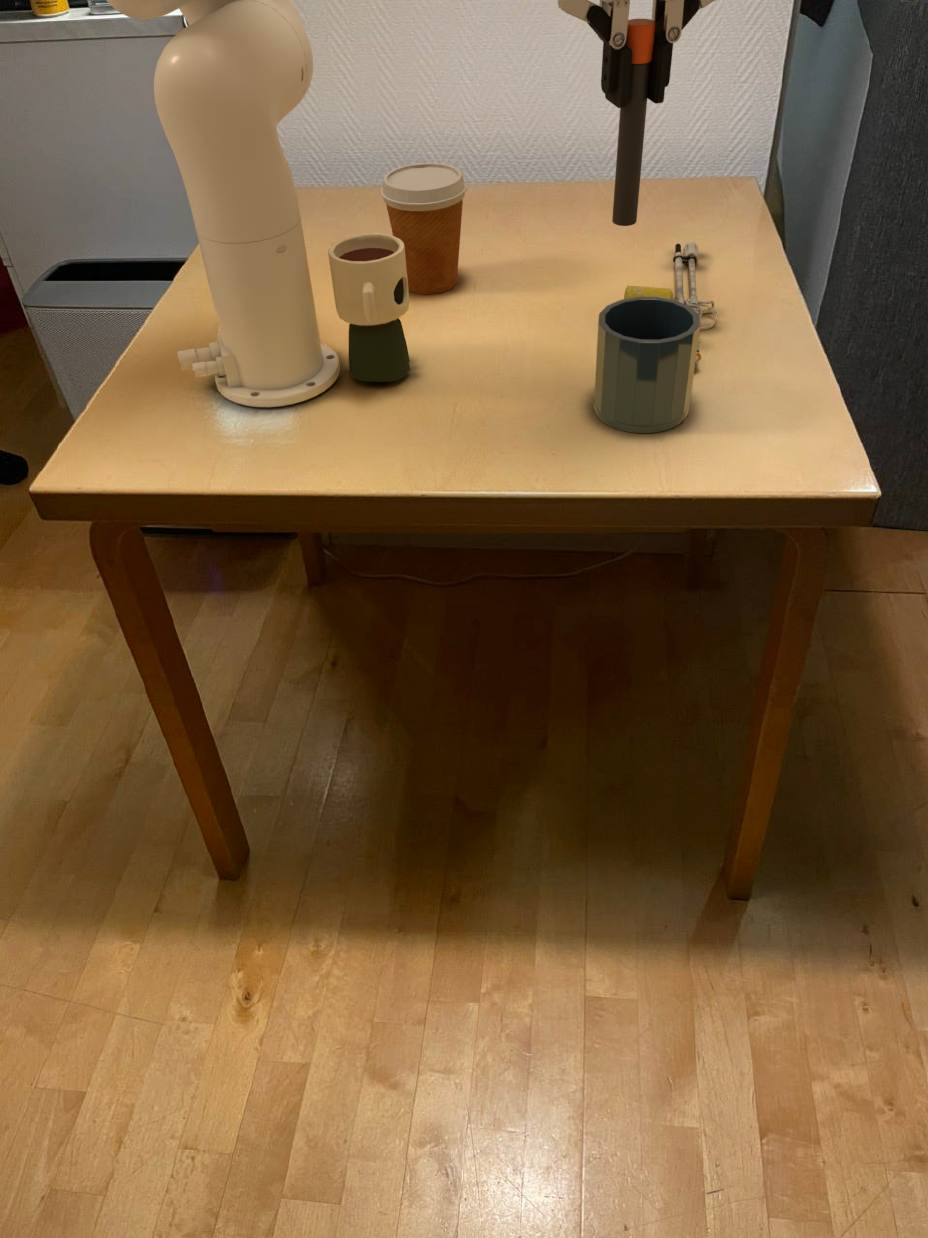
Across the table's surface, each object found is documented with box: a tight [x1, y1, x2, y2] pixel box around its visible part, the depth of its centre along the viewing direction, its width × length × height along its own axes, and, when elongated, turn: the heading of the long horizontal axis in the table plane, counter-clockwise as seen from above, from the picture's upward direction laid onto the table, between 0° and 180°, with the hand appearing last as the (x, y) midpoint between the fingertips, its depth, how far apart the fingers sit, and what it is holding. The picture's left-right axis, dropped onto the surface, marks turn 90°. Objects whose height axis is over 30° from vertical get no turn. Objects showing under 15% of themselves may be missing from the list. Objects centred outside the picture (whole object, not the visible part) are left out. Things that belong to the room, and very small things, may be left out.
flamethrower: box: [623, 241, 719, 363], centre depth 105 cm, size 29×3×10 cm
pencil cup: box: [593, 297, 701, 434], centre depth 89 cm, size 9×9×9 cm
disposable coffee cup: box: [379, 162, 468, 295], centre depth 110 cm, size 10×10×12 cm
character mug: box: [327, 232, 411, 383], centre depth 94 cm, size 11×7×13 cm, turn 3°
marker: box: [611, 18, 655, 227], centre depth 76 cm, size 2×2×14 cm
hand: (633, 98), depth 74 cm, fingers closed on marker, 2 cm apart
